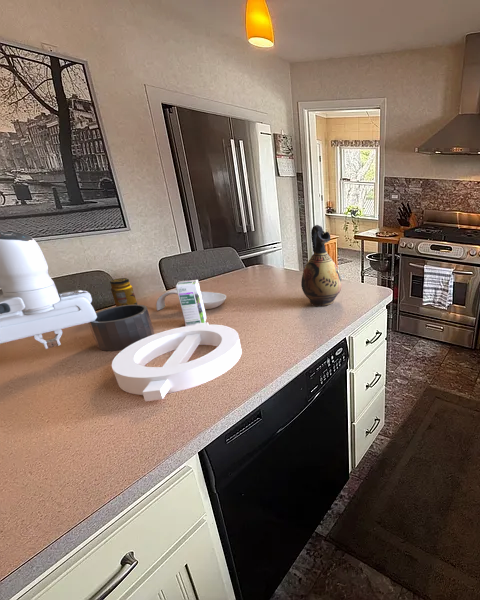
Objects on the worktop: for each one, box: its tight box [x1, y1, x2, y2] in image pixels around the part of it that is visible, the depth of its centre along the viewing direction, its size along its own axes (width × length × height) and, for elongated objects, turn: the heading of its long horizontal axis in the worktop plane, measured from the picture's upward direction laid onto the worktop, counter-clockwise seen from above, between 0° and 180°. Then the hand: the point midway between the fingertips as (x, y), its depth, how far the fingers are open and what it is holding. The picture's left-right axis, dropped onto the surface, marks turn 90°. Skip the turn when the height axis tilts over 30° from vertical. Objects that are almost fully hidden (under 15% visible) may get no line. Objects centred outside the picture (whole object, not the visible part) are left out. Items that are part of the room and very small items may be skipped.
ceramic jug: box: [300, 224, 343, 307], centre depth 125 cm, size 17×15×30 cm
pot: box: [88, 304, 155, 352], centre depth 98 cm, size 14×14×9 cm
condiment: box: [109, 277, 139, 307], centre depth 118 cm, size 7×8×12 cm
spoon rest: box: [155, 288, 227, 311], centre depth 122 cm, size 24×12×7 cm, turn 100°
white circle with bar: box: [111, 321, 243, 402], centre depth 87 cm, size 28×28×5 cm
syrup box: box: [175, 279, 207, 326], centre depth 109 cm, size 6×6×14 cm
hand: (53, 346), depth 86 cm, fingers closed
